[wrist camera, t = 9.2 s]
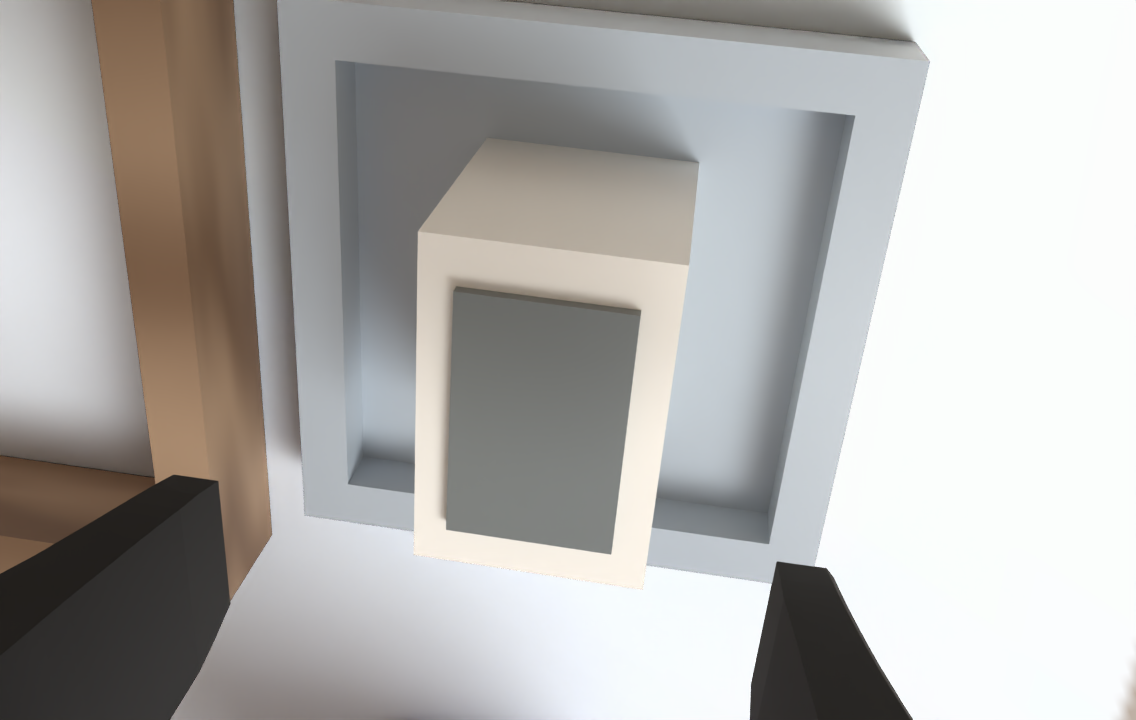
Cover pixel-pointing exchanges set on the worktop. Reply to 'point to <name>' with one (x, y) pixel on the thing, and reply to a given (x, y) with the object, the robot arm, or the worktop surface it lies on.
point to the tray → (620, 125)
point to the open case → (172, 282)
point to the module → (548, 358)
